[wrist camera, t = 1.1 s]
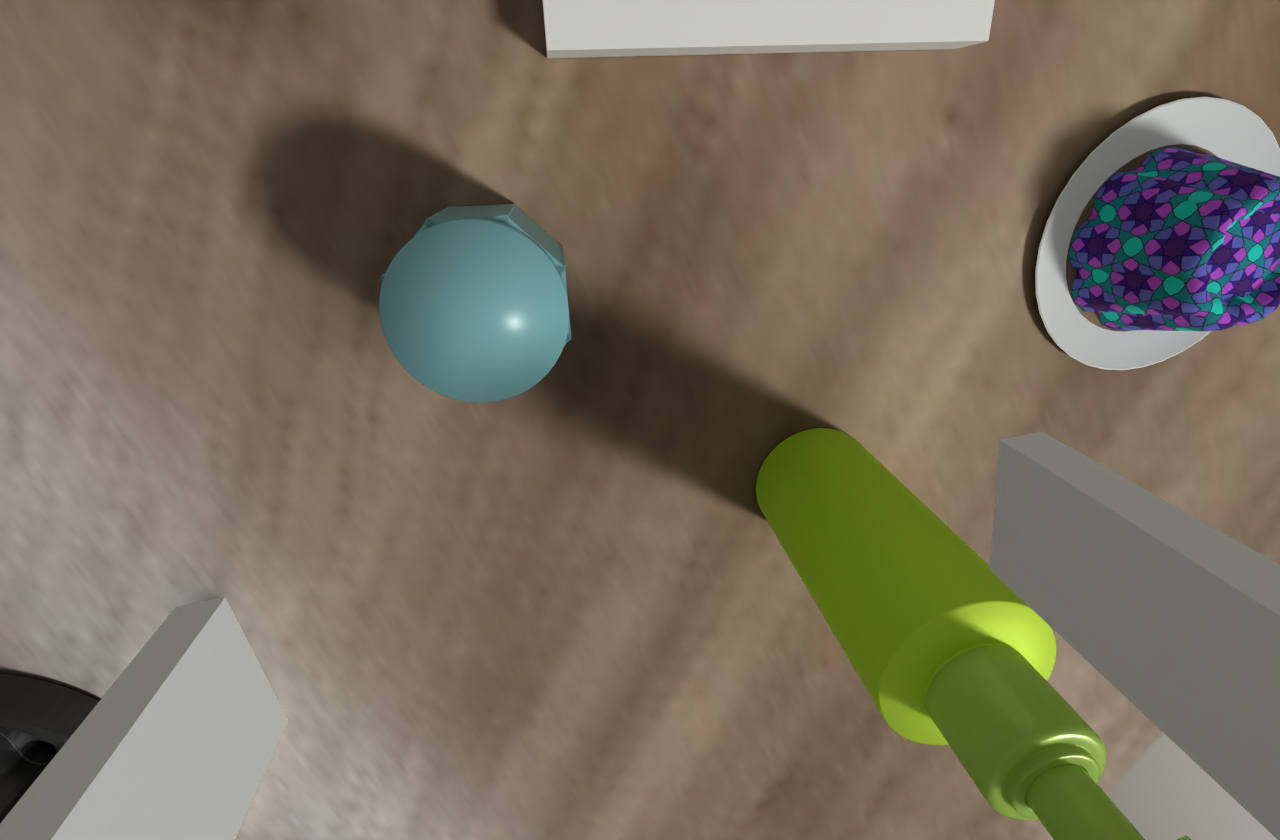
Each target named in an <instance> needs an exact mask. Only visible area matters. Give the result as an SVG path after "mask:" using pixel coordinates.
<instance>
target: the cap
mask: <svg viewBox="0 0 1280 840" xmlns="http://www.w3.org/2000/svg"><path fill="white" fill-rule="evenodd" d="M425 220H426V221H425V223H424V224H423V225H422V226H421V228H420V229H419V230H418V232H417V233H416V234H415V235H414V237H413V238H412V239H411V240H410V241H409V242H408V243H406V244H405V245H404V246H403V247H402V249H401V250H400V251H399V252H398V253H397V254H396V256H395V257H394V259H393V260H392V262H391V263H390V265H389V267H388V269H387V271H386V272H385V273H384V274H383V275H381V278H380V280H381V281H382V286H381V292H380V299H379V311H380V319H381V325H382V329H383V332H384V335H385V338H386V340H387V343H388V345H389V347H390V349H391V351H392V352H393V354H394V356H395V357H396V359H397V360H398V361H399V363H400V364H401V365H402V367H403V368H404V369H405V370H406V371H407V372H408V373H409V374H410V375H411V376H412V377H414V378H415V379H416V380H417V381H419V382H420V383H421V384H423V385H424V386H426V387H427V388H429V389H431V390H433V391H435V392H437V393H439V394H441V395H444V396H446V397H449V398H452V399H456V400H461V401H466V402H494V401H500V400H504V399H508V398H511V397H514V396H516V395H519V394H521V393H523V392H525V391H526V390H528V389H530V388H531V387H533V386H534V385H535V384H537V383H538V382H539V381H541V380H542V379H543V378H544V377H545V376H546V375H547V374H548V373H549V371H550V370H551V369H552V367H553V366H554V365H555V363H556V362H557V360H558V358H559V356H560V355H561V352H562V350H563V347H564V346H565V345H566V344H567V342H568V341H570V340H571V338H572V335H571V327H570V318H569V308H568V298H567V285H566V273H565V269H566V263H565V256H564V249H563V247H562V246H561V245H560V244H558V243H557V242H556V241H555V240H554V239H553V238H552V237H551V236H549V235H548V234H547V233H546V232H545V231H544V230H543V229H542V228H540V227H539V226H538V225H537V224H536V223H535V222H534V221H533V220H532V219H530V218H529V217H528V216H527V215H526V214H525V213H524V212H523V211H521V210H520V209H519V208H518V207H517V206H516V205H515V204H514V203H512V204H497V205H476V206H454V207H451V206H449V207H447V208H445V209H443V210H441V211H439V212H438V213H436V214H434V215H432V216H430V217H429V218H427V219H425Z"/></svg>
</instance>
